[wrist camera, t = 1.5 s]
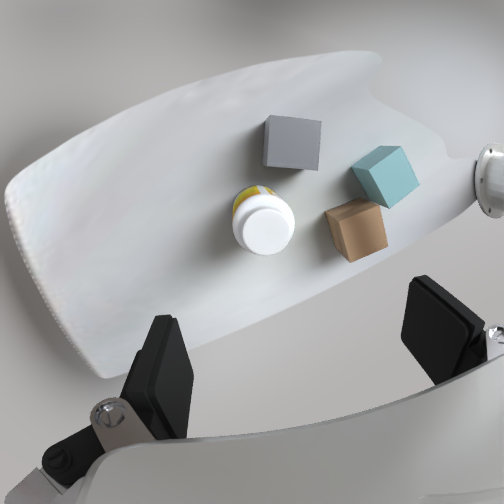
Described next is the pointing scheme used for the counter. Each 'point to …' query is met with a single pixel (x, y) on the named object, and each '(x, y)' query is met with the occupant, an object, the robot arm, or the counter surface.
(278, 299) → the counter surface
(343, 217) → the walnut block
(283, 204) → the supplement bottle
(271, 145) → the gray block
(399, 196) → the teal block
